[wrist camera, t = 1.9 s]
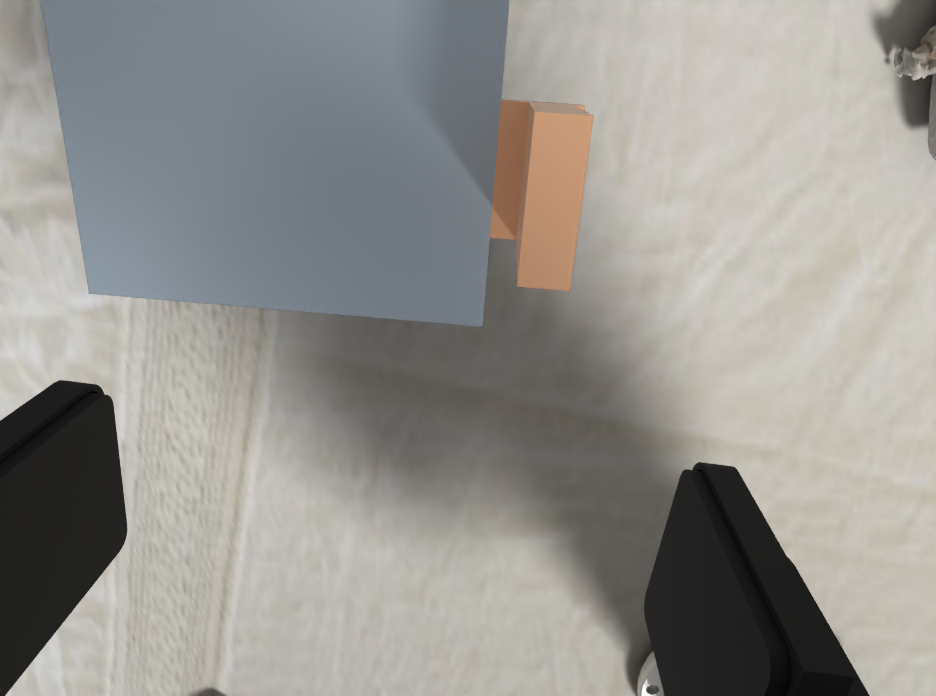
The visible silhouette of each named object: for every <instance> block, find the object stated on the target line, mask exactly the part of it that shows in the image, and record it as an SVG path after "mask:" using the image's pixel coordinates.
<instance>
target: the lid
mask: <svg viewBox="0 0 936 696" xmlns="http://www.w3.org/2000/svg"><path fill="white" fill-rule="evenodd" d="M41 5H42V11H43V17H44V23H45V29H46V35H47V41H48V47H49V53H50V59H51V65H52V72H53V78H54V84H55V90H56V96H57V102H58V108H59V114H60V120H61V126H62V132H63V138H64V144H65V150H66V156H67V162H68V168H69V174H70V180H71V187H72V193H73V199H74V205H75V211H76V217H77V223H78V229H79V235H80V241H81V247H82V253H83V259H84V265H85V271H86V277H87V283H88V289H89V294H100V295H111V296H123V297H135V298H147V299H159V300H171V301H182V302H194V303H206V304H218V305H230V306H242V307H253V308H265V309H277V310H289V311H301V312H313V313H324V314H336V315H348V316H360V317H372V318H384V319H395V320H407V321H419V322H431V323H443V324H455V325H466V326H478V327H482V326H483V316H484V304H485V292H486V280H487V268H488V255H489V243H490V238H498V239H511V240H516V270H517V287H528V288H540V289H552V290H564V291H570V287H571V279H572V272H573V265H574V257H575V250H576V242H577V235H578V227H579V220H580V213H581V205H582V198H583V190H584V183H585V175H586V168H587V160H588V153H589V146H590V138H591V131H592V123H593V116H592V115H591V114H589V113H587V112H585V106H583V105H575V104H561V103H548V102H535V101H521V100H508V99H501V97H502V85H503V72H504V60H505V48H506V36H507V23H508V11H509V0H41Z"/></svg>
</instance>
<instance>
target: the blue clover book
mask: <svg viewBox="0 0 936 696" xmlns="http://www.w3.org/2000/svg"><path fill="white" fill-rule="evenodd" d="M901 53H902V48H898V49H897V50H896V53H895V59H894V64H895V67H896V68H898V66H899V65H900V64H901V62H902V56H901ZM903 74H905V75H908V76H911V79H912V80H913V81H914V80H917V79H920V78H921V77H922V78H923V79H924V78H926V76H929V75H932V83H931V91H930V110H929V129H928V145H929V151H930V154H931V155H932V157H933V158H934V159H935V160H936V25H935V26H934V27H932V28H930V29H929V31H928V32H927V34H926V35H925V36H924V37H923V38H922V39H921V45H920V47H918V48H917V49H915V50H908V49H906V47H905V48H904V50H903V73H902V72H897V75H896V77H898V78H900V77H902V75H903Z"/></svg>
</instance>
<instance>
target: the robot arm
mask: <svg viewBox="0 0 936 696" xmlns="http://www.w3.org/2000/svg"><path fill="white" fill-rule="evenodd" d="M126 535H127V520H126V511H125V503H124V494H123V485H122V476H121V467H120V459H119V450H118V441H117V432H116V423H115V415H114V406H113V401H112V399H111V397H110V396H108V395H104V392H103V390H102V389H101V387H100V386H98V385H95V384H87V383H80V382H72V381H62V380H59V381H57V382H55V383H53V384H52V385H50V386H49V387H48V388H46V389H45V390H43V391H42V392H41V393H39V394H38V395H36V396H35V397H33V398H32V399H31V400H29V401H28V402H26V403H25V404H23V405H22V406H21V407H19V408H18V409H16V410H15V411H14V412H12V413H11V414H9V415H8V416H6V417H5V418H4V419H2V420H1V421H0V696H5V695H6V694H7V692H8V691H9V690H10V689H11V687H12V686H13V685H14V684H15V682H16V681H17V680H18V679H19V677H20V676H21V675H22V674H23V672H24V671H25V670H26V669H27V667H28V666H29V665H30V664H31V662H32V661H33V660H34V658H35V657H36V656H37V655H38V653H39V652H40V651H41V650H42V648H43V647H44V646H45V645H46V643H47V642H48V641H49V640H50V638H51V637H52V636H53V635H54V633H55V632H56V631H57V630H58V628H59V627H60V626H61V625H62V623H63V622H64V621H65V619H66V618H67V617H68V616H69V614H70V613H71V612H72V611H73V609H74V608H75V607H76V606H77V604H78V603H79V602H80V601H81V599H82V598H83V597H84V596H85V594H86V593H87V592H88V591H89V589H90V588H91V587H92V586H93V584H94V583H95V582H96V581H97V579H98V578H99V577H100V575H101V574H102V573H103V572H104V570H105V569H106V568H107V567H108V565H109V564H110V563H111V562H112V560H113V559H114V558H115V557H116V555H117V554H118V553H119V552H120V550H121V548H122V547H123V545H124V542H125V539H126ZM644 612H645V619H646V624H647V628H648V632H649V636H650V640H651V644H652V648H653V651H652V653H651V654H650V655H649V656H648V658H647V659H646V661H645V663H644V664H643V666H642V668H641V671H640V674H639V678H638V685H637V694H638V696H869V694H868V692H867V690H866V689H865V687H864V685H863V684H862V682H861V680H860V678H859V677H858V675H857V673H856V671H855V670H854V668H853V666H852V664H851V663H850V661H849V659H848V657H847V656H846V654H845V652H844V650H843V649H842V647H841V645H840V643H839V642H838V640H837V638H836V637H835V635H834V633H833V631H832V630H831V628H830V626H829V624H828V623H827V621H826V619H825V617H824V616H823V614H822V612H821V610H820V609H819V607H818V605H817V603H816V602H815V600H814V598H813V597H812V595H811V593H810V591H809V590H808V588H807V586H806V584H805V583H804V581H803V579H802V577H801V576H800V574H799V572H798V570H797V569H796V567H795V565H794V564H793V563H792V562H791V560H790V559H789V558H788V557H787V556H786V555H785V553H784V551H783V549H782V548H781V546H780V544H779V542H778V541H777V539H776V537H775V535H774V533H773V532H772V530H771V528H770V526H769V525H768V523H767V521H766V519H765V518H764V516H763V514H762V512H761V511H760V509H759V507H758V505H757V504H756V502H755V500H754V498H753V497H752V495H751V493H750V491H749V490H748V488H747V486H746V484H745V483H744V481H743V479H742V477H741V475H740V474H739V472H738V470H737V469H736V468H735V467H732V466H725V465H717V464H709V463H701V462H699V463H697V464H696V465H695V466H694V468H693V470H684V471H683V472H682V474H681V476H680V479H679V483H678V486H677V489H676V493H675V496H674V500H673V503H672V506H671V510H670V513H669V517H668V520H667V524H666V527H665V530H664V534H663V537H662V541H661V544H660V547H659V551H658V554H657V558H656V561H655V565H654V568H653V571H652V575H651V578H650V582H649V585H648V588H647V592H646V596H645V603H644Z"/></svg>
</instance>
